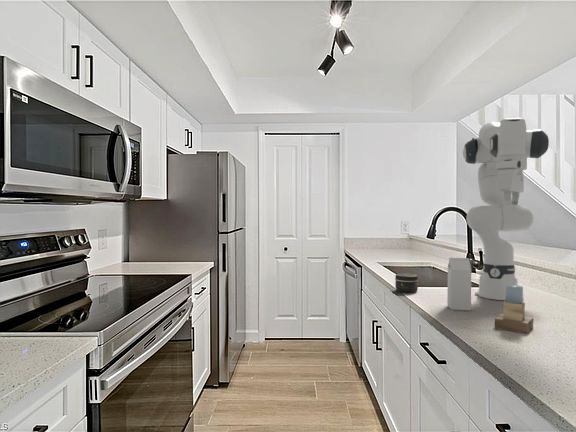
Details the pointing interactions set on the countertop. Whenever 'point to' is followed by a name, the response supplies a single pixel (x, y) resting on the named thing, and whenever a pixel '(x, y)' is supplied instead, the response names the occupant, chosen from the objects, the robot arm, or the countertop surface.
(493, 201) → the robot arm
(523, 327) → the walnut pedestal
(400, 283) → the jar
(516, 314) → the oak cube
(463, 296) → the milk carton
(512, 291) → the ceramic cylinder
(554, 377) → the countertop surface
